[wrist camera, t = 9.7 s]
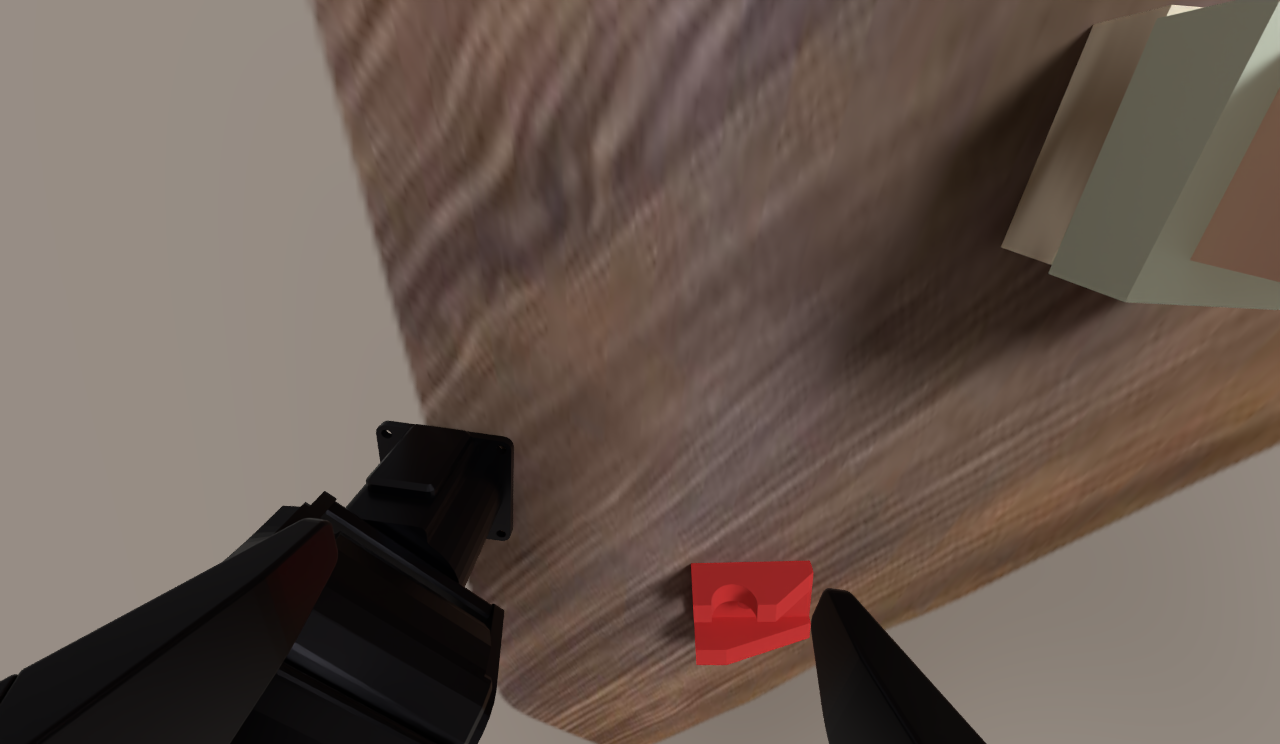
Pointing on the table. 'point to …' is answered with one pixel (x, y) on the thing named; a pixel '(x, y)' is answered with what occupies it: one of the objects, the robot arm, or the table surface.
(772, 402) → the table surface
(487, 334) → the table surface
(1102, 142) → the block
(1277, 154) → the tan block
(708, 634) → the bracket
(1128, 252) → the tower top
